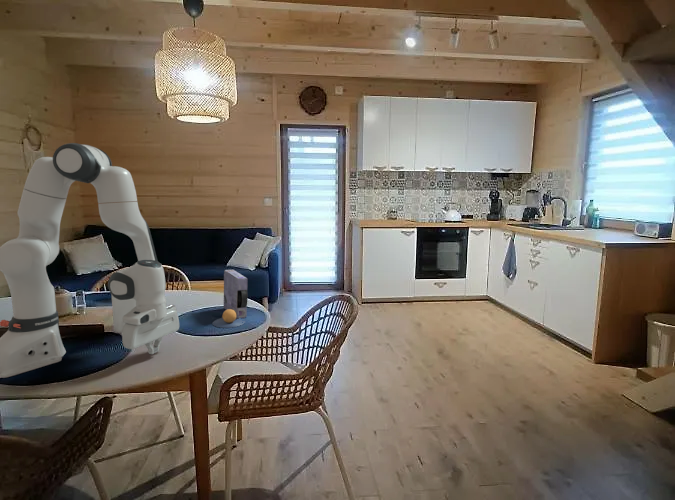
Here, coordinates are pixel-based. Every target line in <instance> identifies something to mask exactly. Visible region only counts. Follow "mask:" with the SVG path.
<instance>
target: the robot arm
mask: <svg viewBox="0 0 675 500" xmlns="http://www.w3.org/2000/svg"><path fill="white" fill-rule="evenodd" d="M74 182H81V183H85V184H91V185H92V186H93V187H94V189H95V191H96V196H97V197H96V198H97V203H98V213H99V216H100V220H101V222H102V223H103V224H104V225H105V226H106V227H107V228H109V229H111V230H112V231H115V232H118V233H122V234H124V235H126V236H128V237H129V238H130V239H131V240H132V242H133V246H134V250H135V254H136V257H137V262H135V263H134V264H133V265H131V266H130V267H127V268H124V269H120V270H117V271H115V272H113V273H111V275H110V277H109V278H108V283H107V285H108V286H107V287H108V290H109V293H110V294H111V297H112V296H114V297H115V298H116V299H119V300H128V299H135V300H136V307H134V308H133V309H132V310H131V311H130V312H128V313H127V314H125V315H124V316H123V318H122V321H123V322H124V323H126V324H124V326H123V329H122V333H121V337H122V338H121V341H122V346H123V347H124V348H125V349H128V350H135V349H137V348H140V347H142V346H145V347H146V348H147V351H148V354H149V355H154V354H156V353H157V352H159V351H160V345H161V344H162V341H163V338H164V337H165V336H167V335H171V334H173V333H176V332H177V331H179V329H180V320H179V315H178V311H177V306H176V305H174V304H169V305H167V298H166V293H165V292H166V287H167V285H166V277H165V270H164V267H163V265H162V263H160V262H159V261H158V257H157V253H156V249H155V245H154V240H153V238H152V234H151V230H150V226H149V224H148V223H147V222H148V221H147V220H146V219H145V218H144V217H143V215H142V214H141V211H140V208H139V204H138V196H137V190H136V187H135V183H134V179H133V177H132V174H131V172H130V171H129V170H127V168H123V167H121V166H115V165H113V162H112V160H111V158H110V156H109V155H108V153H107V152H105V151H104V150H103V149H100V148H98V147H95V146H92V145H89V144H85V143H83V144H81V143H78V142H77V143H76V142H69V143H64V144H62V145H60V146H59V147H57V148H56V150H55V151H54V152H53V155H52V156H42V157H39V158H37V159H36V160H35V161H34V162H33V164H32V166H31V168H30V170H29V172H28V174H27V177H26V179H25V183H24V186H23V188H22V189H23V190H22V193H21V198H20V200H19V201H20V202H19V205H18V209H17V217H18V218H19V220H18V221H19V232H18V235H17V237H16V238H12V239H10V240H7V241H6V242H5V243H3V244H2V245H1V246H0V272H1V273H2V274H3V276H4V278H5V280H6V283H7V286H8V288H9V292H10V296H11V305H12V314H13V315H12V317H11V318H10V319H11V320H6V319H2V320H0V327H4V328H8V329H7V331H6V332H5V333H3V335H1V337H0V379H1V378H3V379H5V378H9V377H13V376H17V375H20V374H23V373H26V372H29V371H33V370H36V369H39V368H42V367H45V366H49V365H52V364H56V363H59V362H61V361H62V359H63V357H64V355H65V354H66V353H67V351H66V348H65V347H64V344H63V340H62V337H61V334H60V329H59V326H60V325H59V323H60V319H59V317H60V316H59V311H58V310H57V305H56V293H55V287H54V286H53V284H52V283H51V281H50V279H49V276H48V272H47V266H48V265H49V266H50V264H52V263H53V262H54V261H55V260H56V258H57V256H58V255H59V254H60V245H59V244H60V243H59V242H60V232H61V231H60V230H61V221H62V218H63V217H62V216H63V213H64V211H65V206H66V202H67V197H68V194H69V190H70V187H71V185H72V184H73V183H74Z"/></svg>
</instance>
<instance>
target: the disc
mask: <svg viewBox="0 0 675 500" xmlns="http://www.w3.org/2000/svg"><path fill="white" fill-rule="evenodd" d="M242 322H243V323H242ZM244 323H245V324H246V320H245V321H242V320H240V319H239V320H237V318H236V319H235V321H233V322H231V323H227V322H225V321H224V320H223V317H221V318H216V319H215V320H214V321H212V326H213V325H214V326H213V327H215V326H216V328H219V327H220V329H230V328H231V329H232V327H233V328H237V326H238V327H241V326H243V325H245V324H244ZM240 325H241V326H240Z"/></svg>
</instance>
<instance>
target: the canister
mask: <svg viewBox="0 0 675 500" xmlns="http://www.w3.org/2000/svg"><path fill="white" fill-rule="evenodd" d="M111 306H112V321H113V332H114V333H118V334H122V329H123V326H124V324H126V323H124V322H123V321H122V318H123V316H124V315H125V314H127V313H128V312H130V311H131V310H132V309H133V308H134V307H136V300H135V299H128V300H119V299H116V298H115V297H114V296H112V295H111Z"/></svg>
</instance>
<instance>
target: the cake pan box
mask: <svg viewBox="0 0 675 500" xmlns="http://www.w3.org/2000/svg"><path fill="white" fill-rule="evenodd" d="M248 296H249V295H248V278H247V277H246V276H244V275H242V274H241V273H239V272H238V271H236V270H235V269H224V271H223V310H224V309H225V310H227V309H232V310H234V311H235V312H236V318H237V319H239V318H242V319H246V318H245V317H247V316H248V315H247V314H248V312H247V311H248V310H247V306H248V298H249V297H248Z"/></svg>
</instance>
